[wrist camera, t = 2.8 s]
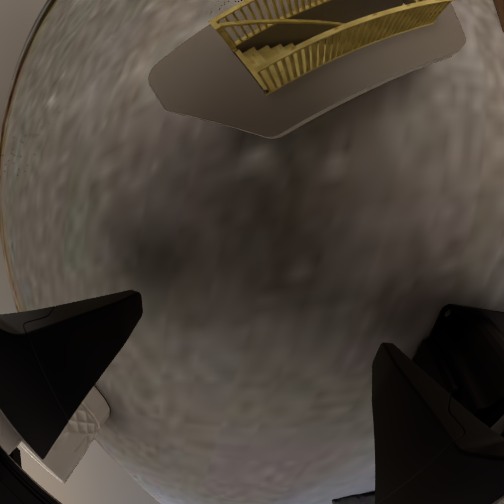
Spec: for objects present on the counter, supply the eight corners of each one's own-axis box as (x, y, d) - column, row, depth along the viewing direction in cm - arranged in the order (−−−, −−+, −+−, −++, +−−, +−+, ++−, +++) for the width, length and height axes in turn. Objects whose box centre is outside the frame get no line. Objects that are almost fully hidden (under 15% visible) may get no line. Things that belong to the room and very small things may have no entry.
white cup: (48, 351, 20) (-13, 404, 11) (99, 376, 18) (30, 450, 9) (75, 403, 22) (28, 454, 13) (125, 428, 21) (79, 494, 11)
